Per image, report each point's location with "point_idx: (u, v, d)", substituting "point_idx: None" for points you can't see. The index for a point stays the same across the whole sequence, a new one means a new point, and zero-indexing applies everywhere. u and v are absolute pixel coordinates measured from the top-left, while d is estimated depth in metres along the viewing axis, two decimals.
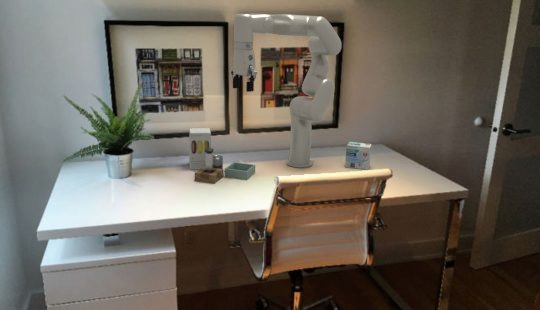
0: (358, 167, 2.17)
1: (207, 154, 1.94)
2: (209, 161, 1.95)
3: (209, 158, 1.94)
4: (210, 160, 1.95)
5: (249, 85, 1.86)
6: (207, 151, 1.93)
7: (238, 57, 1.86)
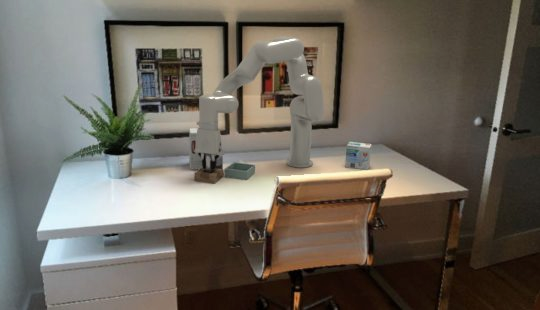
0: (358, 167, 2.17)
1: (207, 154, 1.94)
2: (209, 161, 1.95)
3: (209, 158, 1.94)
4: (210, 160, 1.95)
5: None
6: None
7: None
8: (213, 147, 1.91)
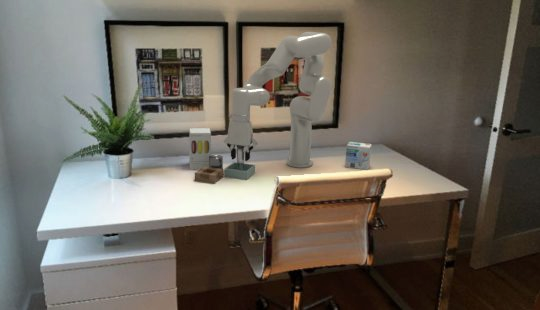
0: (358, 167, 2.17)
1: (239, 149, 2.00)
2: (240, 155, 2.01)
3: (241, 153, 2.01)
4: (242, 155, 2.01)
5: None
6: (239, 146, 1.99)
7: None
8: (245, 139, 1.96)
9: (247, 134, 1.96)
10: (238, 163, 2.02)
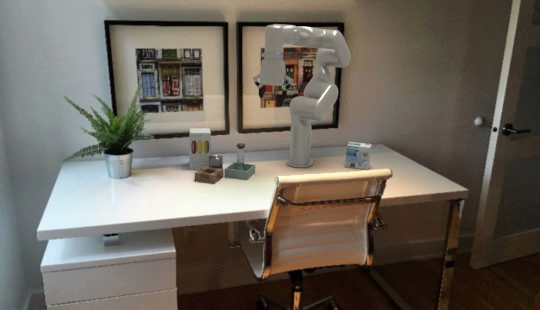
0: (358, 167, 2.17)
1: (239, 149, 2.00)
2: (240, 155, 2.01)
3: (241, 153, 2.01)
4: (242, 155, 2.01)
5: None
6: (239, 146, 1.99)
7: None
8: (278, 78, 1.90)
9: (280, 73, 1.90)
10: (238, 163, 2.02)
